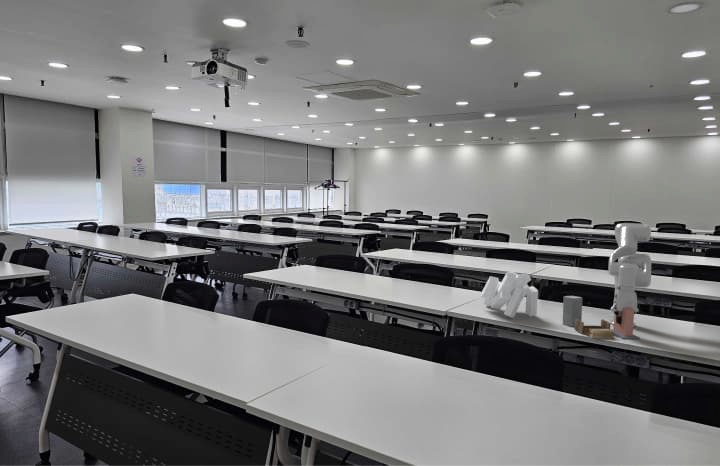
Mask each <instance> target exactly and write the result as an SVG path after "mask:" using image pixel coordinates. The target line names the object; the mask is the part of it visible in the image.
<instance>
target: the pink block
mask: <svg viewBox="0 0 720 466" xmlns="http://www.w3.org/2000/svg"><path fill="white" fill-rule="evenodd" d="M615 311H616V309H615ZM613 314H614V313H613ZM620 317H621V324H618V323H616V315H615V314H614V325H613V329H614V331H616V332H618V333H620V334H622V335H624V336H633V335H634V327H633V323H635V314H634V309H633V308H624V311H622V313H621V316H620Z"/></svg>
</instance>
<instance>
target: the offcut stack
mask: <svg viewBox="0 0 720 466" xmlns="http://www.w3.org/2000/svg"><path fill="white" fill-rule="evenodd" d="M587 336H588V337H589V338H591V339H614V334H613V333H612V331H611V330H609V329H589V333H588V334H587Z"/></svg>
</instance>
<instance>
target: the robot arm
mask: <svg viewBox="0 0 720 466" xmlns="http://www.w3.org/2000/svg"><path fill="white" fill-rule="evenodd" d="M651 231H652V229H651V227H650V225H649V224H648V223H636V222H635V223H633V222H623V223H617V224H616V225H615V227H614V236H615V240H616V243H617V246H618V248H616V249H614V250H613V251H612V253H611V254H610V256H609V259H608V274H609V275H610V276H612V277H613V278H614V298H613V305H612V306H611V308H610V309H609V310H610V311H611V312H612V314H611V318H612V319H609V323H611V324H610V325H613V326H614V314H615V315H616V323H618V324H621V317H620V316H621V313H622V311H624V308H633V309H634V315H635V314H636V313H638V312H640V311H639V308H638V296H637V292H636V291H635V288H643V289H644V288H649V287H650V285H651V283H652V259H651V258H652V257H650V255H649V254H646V253H640V252H638V253H637V251H638V242H648V241H650V239H651V237H652V232H651ZM615 309H616V311H615ZM636 325H637V323H635V322H634V323H633V328H635V327H636Z"/></svg>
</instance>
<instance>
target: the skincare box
mask: <svg viewBox="0 0 720 466" xmlns="http://www.w3.org/2000/svg"><path fill="white" fill-rule="evenodd" d="M562 300H563V302H562V304H563V307H562V324H563V325H566V326H570V327H575V319H578V320H580V321H582V318H583V317H582V315H583V297H581V296H575V295H566V296H564V295H563V299H562Z"/></svg>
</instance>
